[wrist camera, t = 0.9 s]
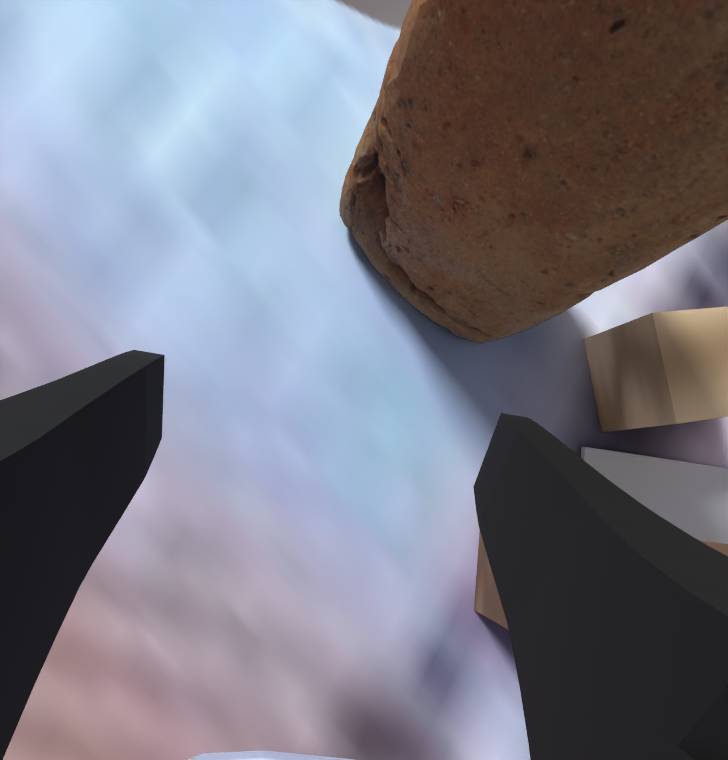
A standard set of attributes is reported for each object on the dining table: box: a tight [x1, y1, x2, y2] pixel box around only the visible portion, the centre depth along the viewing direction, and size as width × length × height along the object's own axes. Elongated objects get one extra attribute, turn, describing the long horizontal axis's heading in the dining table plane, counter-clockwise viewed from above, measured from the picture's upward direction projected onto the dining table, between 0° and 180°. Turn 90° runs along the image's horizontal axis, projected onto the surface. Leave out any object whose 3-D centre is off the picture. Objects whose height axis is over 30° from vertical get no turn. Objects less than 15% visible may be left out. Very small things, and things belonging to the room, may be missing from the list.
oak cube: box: [584, 307, 728, 432], centre depth 26 cm, size 5×5×5 cm
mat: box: [581, 447, 728, 544], centre depth 27 cm, size 12×12×1 cm
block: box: [339, 0, 728, 343], centre depth 18 cm, size 11×8×20 cm
